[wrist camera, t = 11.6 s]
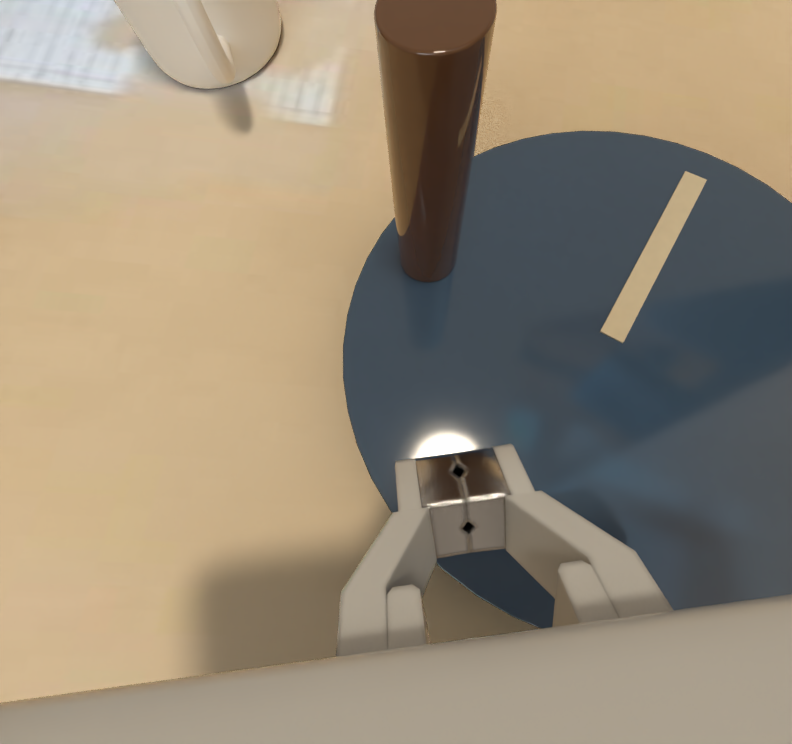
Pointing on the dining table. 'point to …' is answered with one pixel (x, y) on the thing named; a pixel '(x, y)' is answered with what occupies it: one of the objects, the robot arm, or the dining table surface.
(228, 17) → the cup
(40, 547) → the dining table surface
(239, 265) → the dining table surface
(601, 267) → the blue disc with peg
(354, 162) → the dining table surface
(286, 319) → the dining table surface
